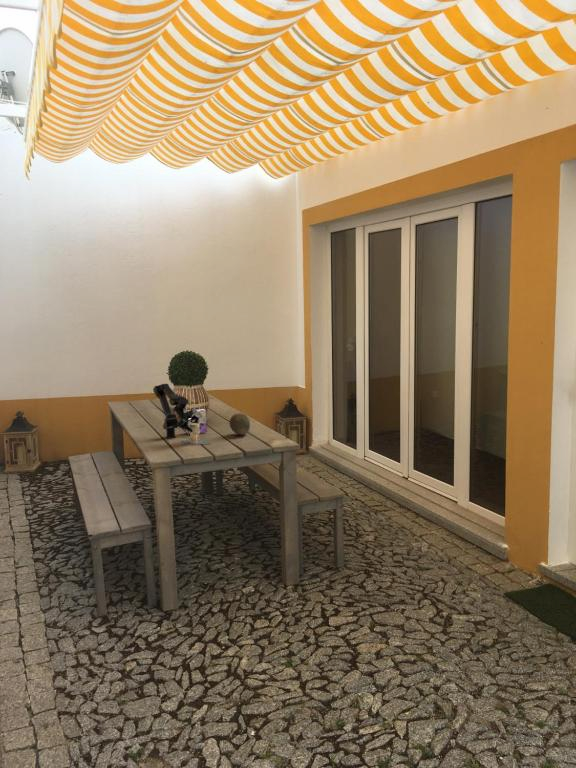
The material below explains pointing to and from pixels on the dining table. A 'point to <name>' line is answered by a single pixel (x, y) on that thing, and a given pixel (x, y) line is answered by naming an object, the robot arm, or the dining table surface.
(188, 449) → the dining table surface
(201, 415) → the candy box
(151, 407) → the dining table surface
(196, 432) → the birch block
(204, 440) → the rubber mat
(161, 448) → the dining table surface
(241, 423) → the cantaloupe
